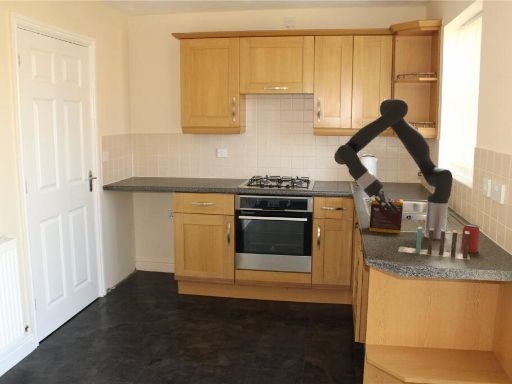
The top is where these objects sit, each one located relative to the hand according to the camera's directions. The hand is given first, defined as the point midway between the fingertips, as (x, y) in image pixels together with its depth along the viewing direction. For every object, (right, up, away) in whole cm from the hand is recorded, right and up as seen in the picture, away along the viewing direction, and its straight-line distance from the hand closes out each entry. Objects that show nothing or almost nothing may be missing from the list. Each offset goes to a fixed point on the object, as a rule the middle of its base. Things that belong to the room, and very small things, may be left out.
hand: (395, 213), depth 207 cm
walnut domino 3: (+22, -17, -6) cm, 28 cm away
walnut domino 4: (+26, -17, -7) cm, 32 cm away
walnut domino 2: (+18, -17, -4) cm, 25 cm away
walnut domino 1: (+13, -16, -3) cm, 21 cm away
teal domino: (+9, -16, -1) cm, 18 cm away
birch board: (+15, -18, -3) cm, 23 cm away
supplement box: (+7, -11, +43) cm, 44 cm away
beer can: (+32, -17, +4) cm, 37 cm away
